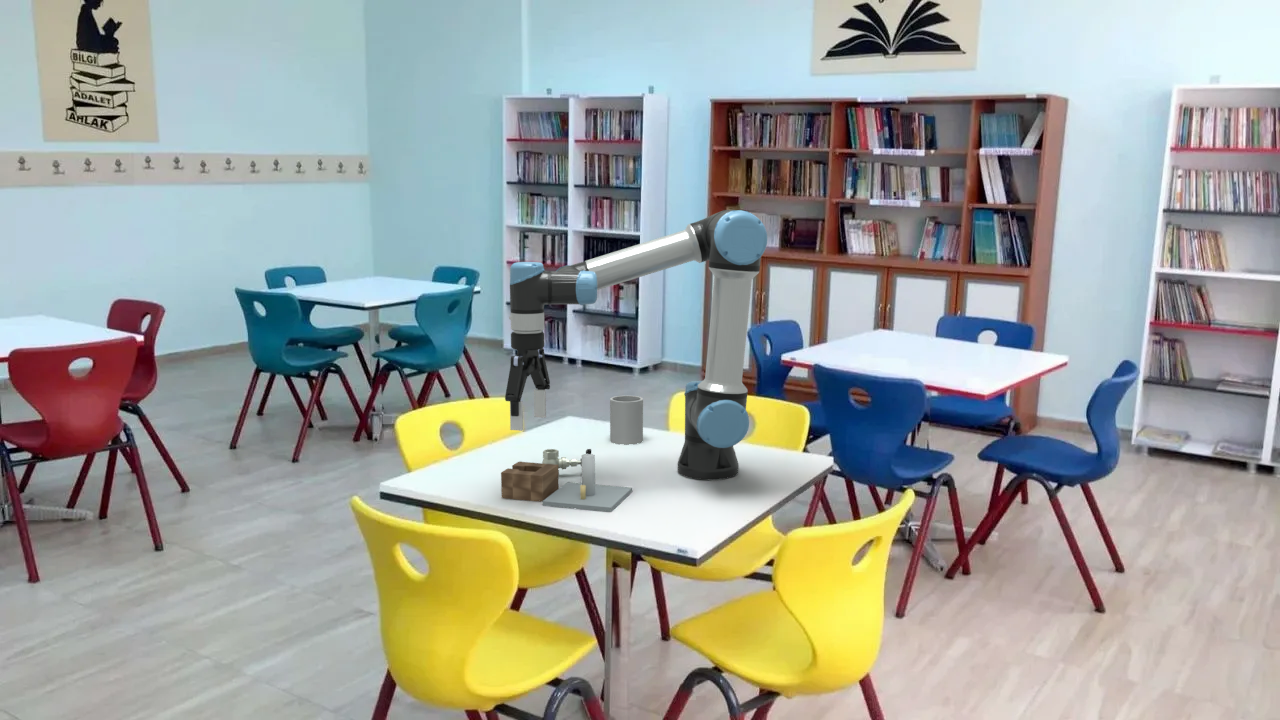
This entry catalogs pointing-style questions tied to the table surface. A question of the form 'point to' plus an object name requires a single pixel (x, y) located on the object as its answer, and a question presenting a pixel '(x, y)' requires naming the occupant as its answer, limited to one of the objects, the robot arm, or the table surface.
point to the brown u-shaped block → (529, 481)
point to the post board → (590, 502)
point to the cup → (626, 420)
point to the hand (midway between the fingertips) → (528, 423)
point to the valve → (552, 458)
